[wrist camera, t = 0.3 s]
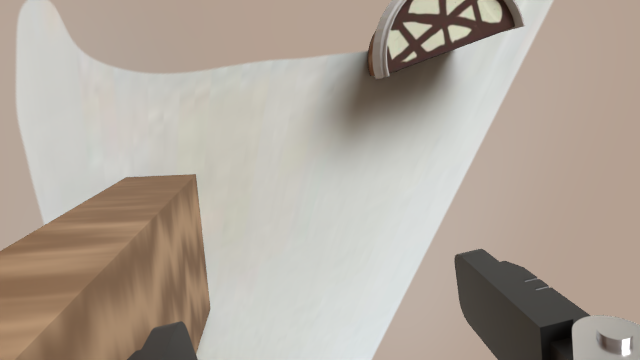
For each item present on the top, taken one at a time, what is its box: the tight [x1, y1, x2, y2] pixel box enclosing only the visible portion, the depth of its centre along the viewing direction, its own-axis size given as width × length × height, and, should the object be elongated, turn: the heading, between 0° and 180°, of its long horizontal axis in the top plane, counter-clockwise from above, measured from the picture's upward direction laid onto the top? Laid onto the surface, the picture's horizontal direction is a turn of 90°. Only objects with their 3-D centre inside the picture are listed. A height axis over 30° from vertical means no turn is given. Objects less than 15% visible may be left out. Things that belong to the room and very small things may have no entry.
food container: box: [368, 0, 525, 79], centre depth 32 cm, size 12×6×10 cm, turn 110°
